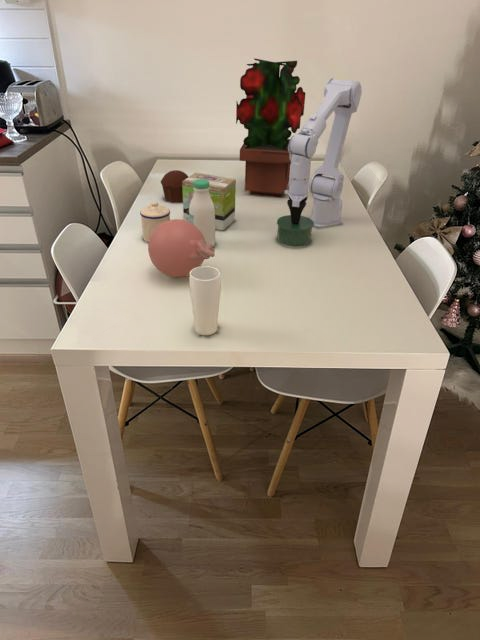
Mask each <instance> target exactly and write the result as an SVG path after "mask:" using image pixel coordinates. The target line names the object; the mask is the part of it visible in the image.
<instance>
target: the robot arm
mask: <svg viewBox="0 0 480 640" xmlns="http://www.w3.org/2000/svg"><path fill="white" fill-rule="evenodd" d="M361 97H362V85H361V82H360V81H358V80H355V81H354V80H347V79H338V78H333V77H330V78H329V79H328V80H327V81H326V83H325V85H324V89H323V98H322V101H321V102H320V105H319V106H318V108H317V110H316V112H315V113H313V114H311V115H309V116H308V117H307V119H306V121H305V122H304V124H303V125H302V127H301V128H300V129H299V132H298V133H294V134H293V135H291V136H290V138H289V139H290V141H289V145H288V151H289V154H290V157H289V159H290V161H291V164H290V177H289V183H288V189H287V190H285V194H284V195H287V196H288V199H287V201H286V203H287V207H288V209H289V213H290V214H289V215H291V222H292V223H296V224H298V223H299V221H300V217H301V216H302V213H303V211H304V209H305V207H306V206H307V200H308V198H309V193H310V194H311V197H312V198H313V200H312V208H311V216H309V217H308V218H310V219H311V220H312V221H313V222H314V226H316V227H317V228H320V227H326V226H331V225H338V224H342V221H341V218H342V211H343V200H342V198H341V195H342V192H343V188H344V179H345V176H344V174H343V173H342V171H341V170H340V169H339V165H340V160H341V157H342V153H343V149H344V145H345V141H346V138H347V134H348V129H349V126H350V121H351V118H352V115H353V114H354V113H355V114H356V112H357V111H358V108H359V105H360V101H361ZM333 113H334V118H333V120H332V126H331V129H330V134H329V137H328V141H327V146H326V149H325V150H326V151H325V155H324V158H323V161H322V165H321V166H319V167H317V168H315V170H314V171H313V172H312V173H313V174H312V176H311V178H310V175H311V167H312V157H314V155H315V153H316V151H317V147H318V144H319V139H320V138H321V136H322V135H323V134H324V132H325V130H326V128H327V120H328V119H329V118H330V116H331V115H332V114H333Z"/></svg>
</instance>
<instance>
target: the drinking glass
mask: <svg viewBox="0 0 480 640" xmlns="http://www.w3.org/2000/svg"><path fill="white" fill-rule="evenodd" d="M221 280H222V279H221V272H220V269H218V268H216V267H214V266H210V265H201V266H200V267H196V268H194V269H192V270H191V271H190V275H189V294H190V302H191V307H192V308H191V309H192V316H193V325H194V328H193V329H194V331H195V333H197V334H199V335H201V336H212V335H213V334H216V332H217V331H218V329H219V327H218V326H219V325H218V323H219V322H218V321H219V311H220V301H221V291H222V289H221V287H222V285H221V284H222V282H221Z"/></svg>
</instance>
